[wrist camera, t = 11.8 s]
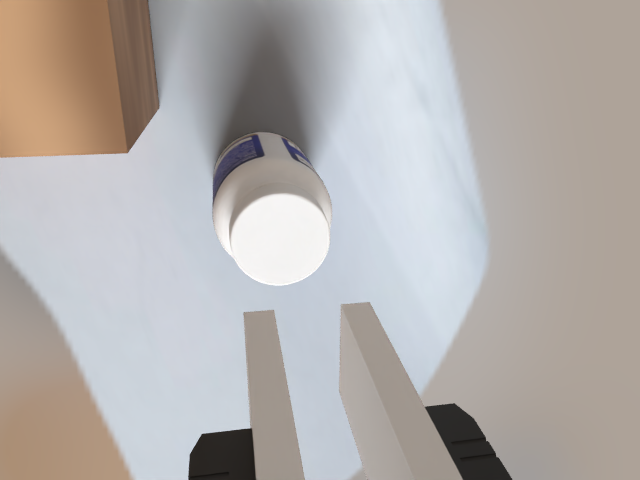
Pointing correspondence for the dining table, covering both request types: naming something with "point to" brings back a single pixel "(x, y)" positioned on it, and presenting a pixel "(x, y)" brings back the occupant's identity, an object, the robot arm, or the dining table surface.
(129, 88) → the case
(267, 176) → the pill bottle
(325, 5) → the dining table surface
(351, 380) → the robot arm
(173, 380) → the dining table surface
